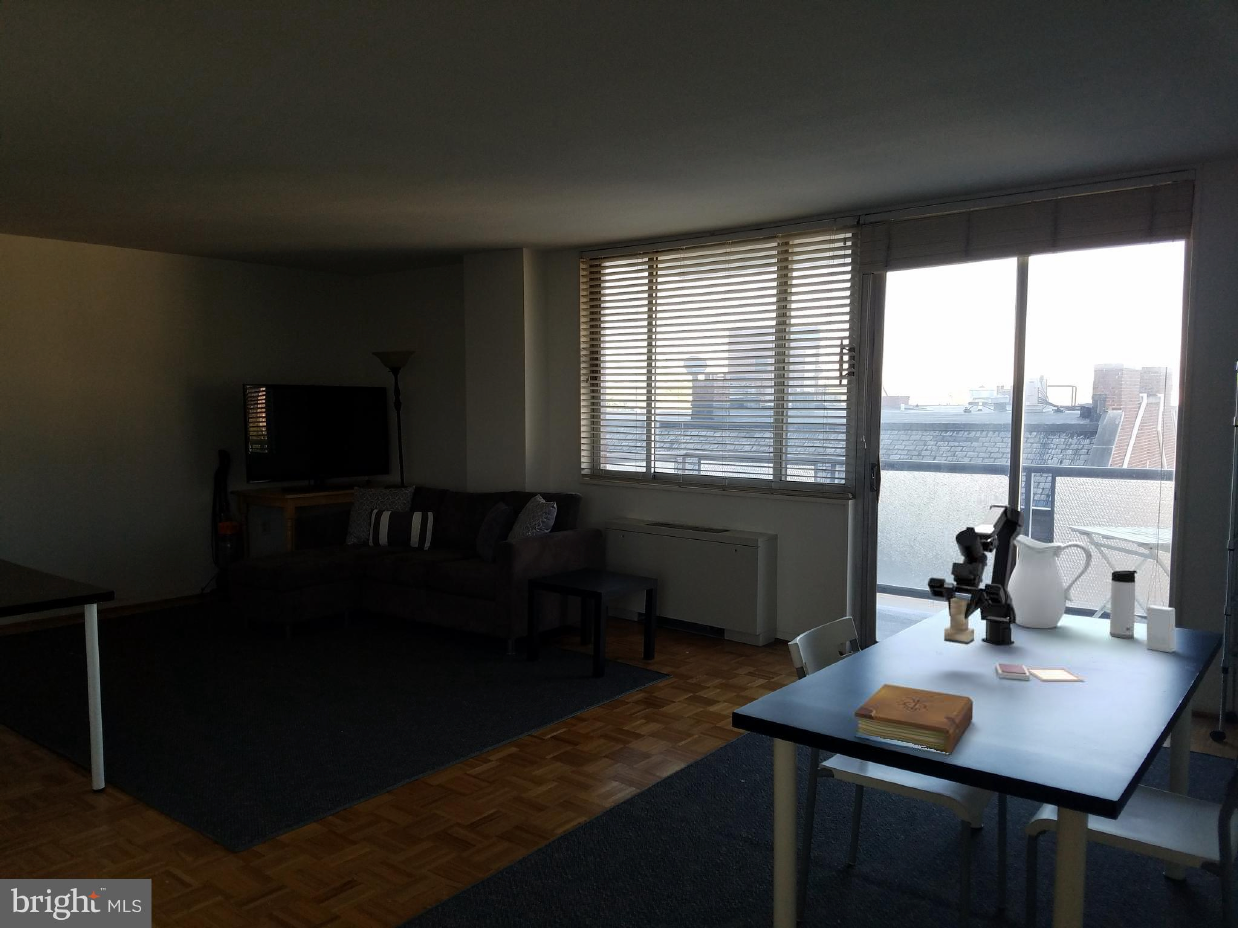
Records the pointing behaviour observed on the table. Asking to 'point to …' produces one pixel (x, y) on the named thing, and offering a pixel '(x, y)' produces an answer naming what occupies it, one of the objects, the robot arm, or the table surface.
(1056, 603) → the pitcher
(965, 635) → the stamp
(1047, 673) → the marked card
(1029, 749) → the table surface
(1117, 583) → the travel mug
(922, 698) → the diary
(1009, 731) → the table surface
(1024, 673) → the ink pad
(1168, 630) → the skincare box
